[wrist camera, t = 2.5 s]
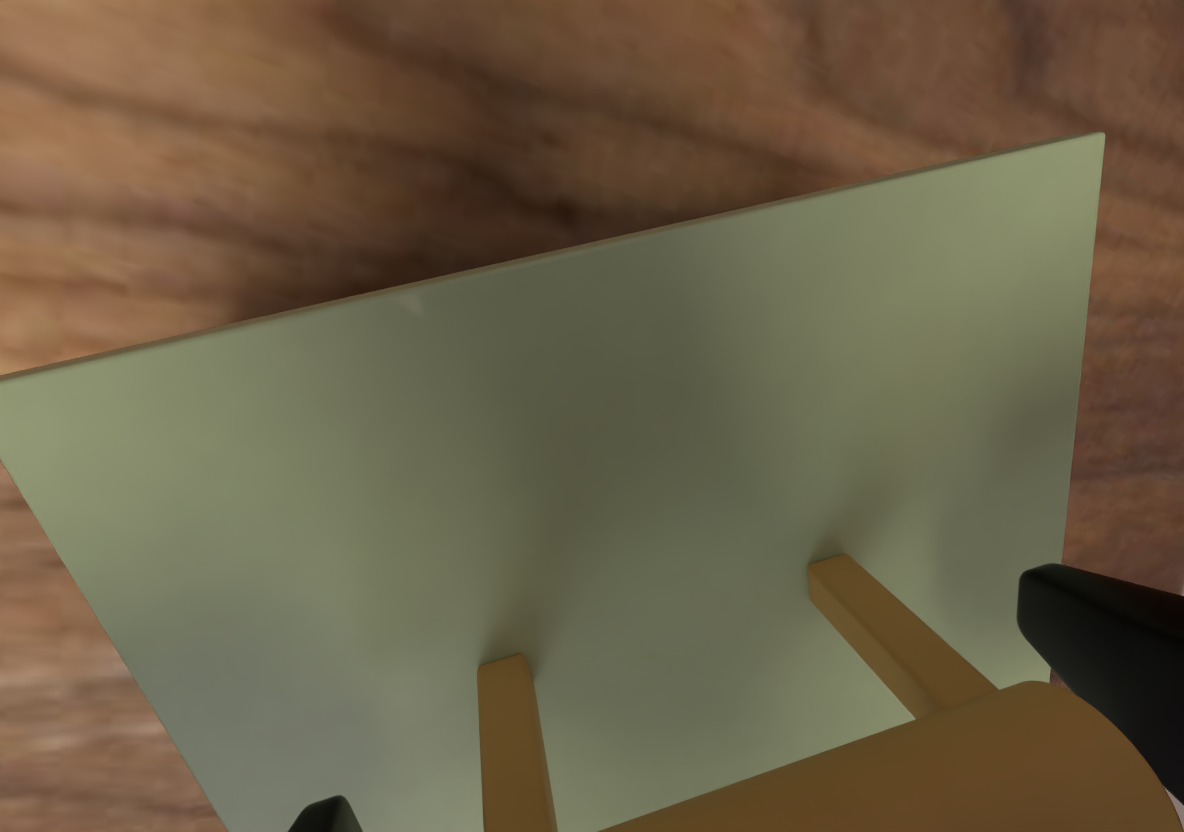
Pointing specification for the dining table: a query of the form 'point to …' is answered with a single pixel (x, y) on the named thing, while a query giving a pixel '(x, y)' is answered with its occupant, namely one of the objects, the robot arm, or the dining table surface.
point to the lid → (619, 526)
